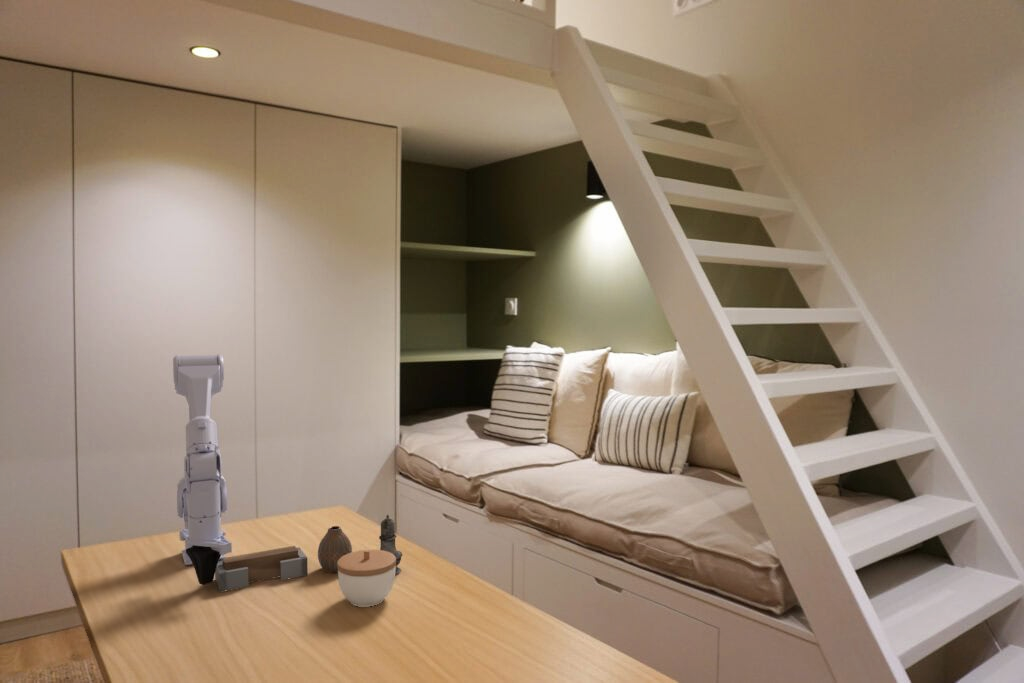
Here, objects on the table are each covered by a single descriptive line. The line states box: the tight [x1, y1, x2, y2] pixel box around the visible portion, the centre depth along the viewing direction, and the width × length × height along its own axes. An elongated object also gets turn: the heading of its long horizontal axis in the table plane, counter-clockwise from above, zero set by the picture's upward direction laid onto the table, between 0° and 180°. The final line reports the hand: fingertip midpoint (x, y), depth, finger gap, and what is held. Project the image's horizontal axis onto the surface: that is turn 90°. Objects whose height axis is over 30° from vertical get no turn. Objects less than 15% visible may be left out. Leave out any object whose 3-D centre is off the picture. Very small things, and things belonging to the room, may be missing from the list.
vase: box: [317, 525, 353, 574], centre depth 144 cm, size 7×7×9 cm
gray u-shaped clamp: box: [214, 560, 250, 592], centre depth 137 cm, size 7×5×4 cm
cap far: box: [279, 546, 309, 581], centre depth 143 cm, size 7×5×4 cm
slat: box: [222, 545, 298, 583], centre depth 140 cm, size 3×14×5 cm, turn 120°
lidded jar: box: [337, 549, 396, 608], centre depth 129 cm, size 11×11×9 cm
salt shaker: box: [378, 514, 403, 576], centre depth 143 cm, size 6×6×12 cm
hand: (206, 582), depth 135 cm, fingers closed
